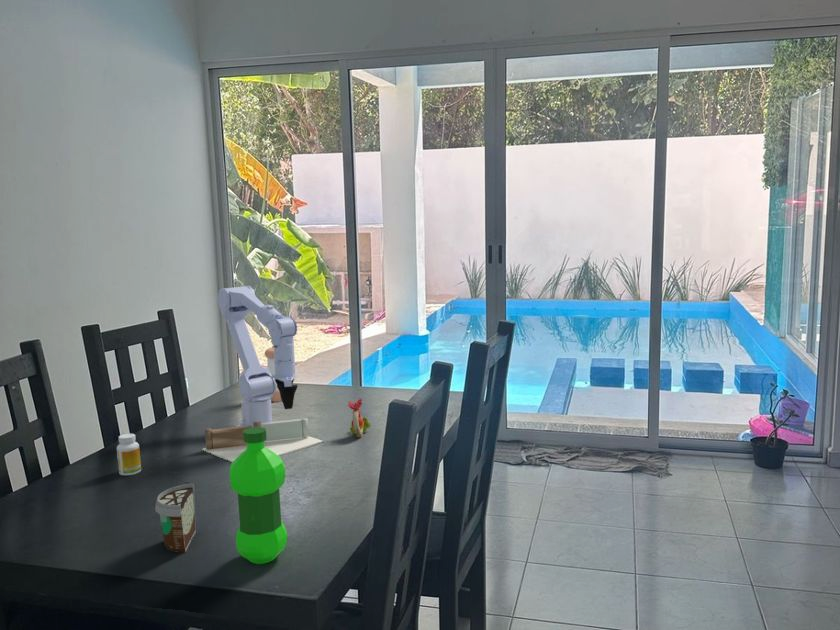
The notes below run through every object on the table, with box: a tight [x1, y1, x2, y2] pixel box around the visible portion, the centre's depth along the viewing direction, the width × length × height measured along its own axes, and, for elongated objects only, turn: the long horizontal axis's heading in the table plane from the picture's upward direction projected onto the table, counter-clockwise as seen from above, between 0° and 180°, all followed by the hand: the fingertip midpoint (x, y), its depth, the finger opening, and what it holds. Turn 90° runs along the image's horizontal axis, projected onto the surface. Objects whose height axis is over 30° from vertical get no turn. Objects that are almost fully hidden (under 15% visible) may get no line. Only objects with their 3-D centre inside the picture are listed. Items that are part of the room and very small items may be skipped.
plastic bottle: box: [228, 427, 288, 565], centre depth 137 cm, size 10×10×25 cm
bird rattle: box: [347, 398, 371, 439], centre depth 211 cm, size 6×11×9 cm
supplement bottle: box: [116, 433, 142, 476], centre depth 186 cm, size 5×5×10 cm
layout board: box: [201, 436, 324, 463], centre depth 205 cm, size 21×26×1 cm
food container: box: [154, 483, 197, 553], centre depth 145 cm, size 12×6×10 cm, turn 5°
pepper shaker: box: [264, 345, 282, 403], centre depth 255 cm, size 7×7×19 cm
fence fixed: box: [204, 422, 261, 450], centre depth 204 cm, size 2×15×6 cm, turn 106°
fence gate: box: [262, 417, 309, 442], centre depth 208 cm, size 2×13×5 cm, turn 106°
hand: (287, 405), depth 211 cm, fingers open, 7 cm apart
